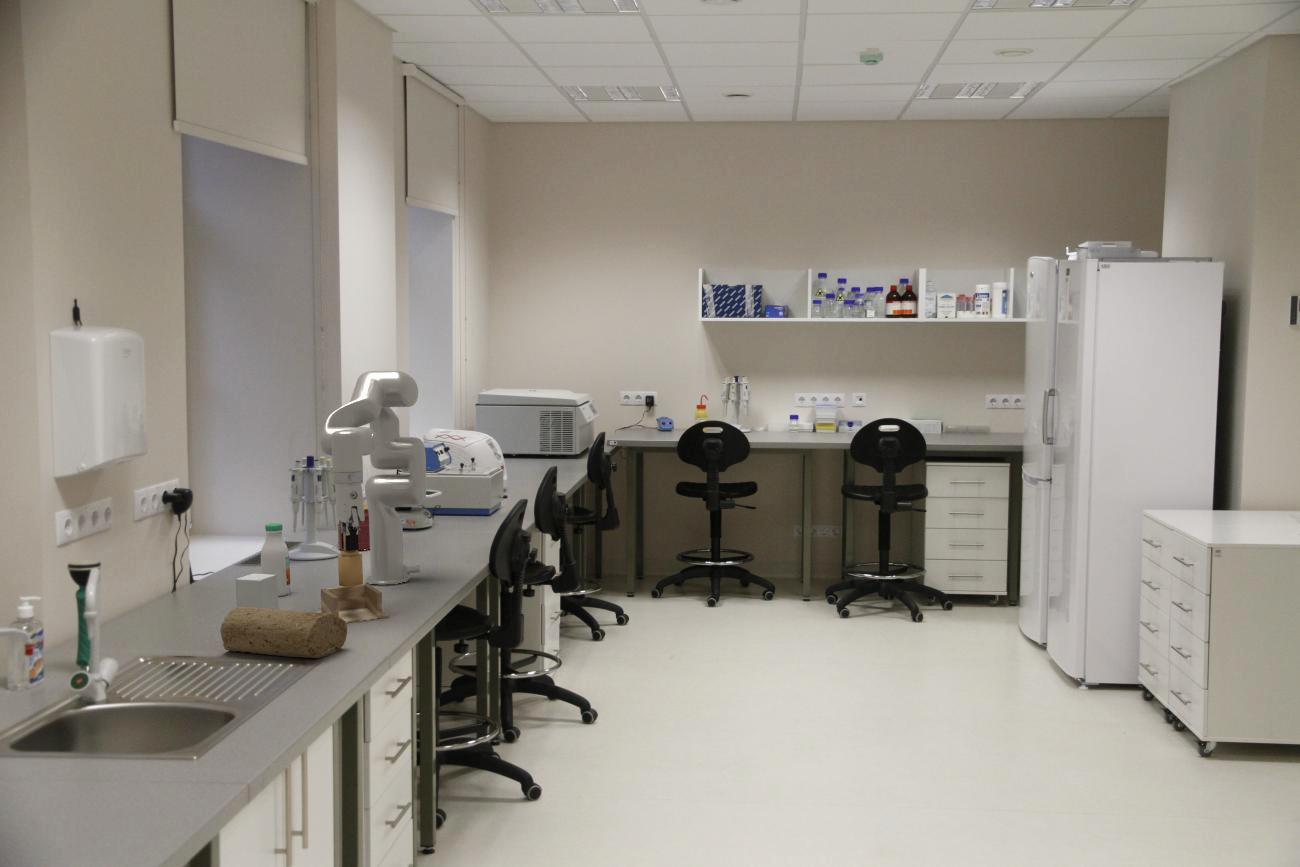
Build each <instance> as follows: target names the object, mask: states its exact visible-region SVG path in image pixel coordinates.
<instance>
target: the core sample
mask: <svg viewBox="0 0 1300 867" xmlns="http://www.w3.org/2000/svg"><path fill="white" fill-rule="evenodd" d="M318 612H319V611H301V610H290V609H279V608H278V609H267V608H254V607H242V606H241V607H237V606H236V607H234V608H233V609H231V610H230V611H229V612H227V614H226V615H225V616H224V620H222V622H221V625H220V635H221V640H222V642H223V643H222V646H223V648H224V650H226V651H228V650H231V651H230V652H236V651H241V652H240V653H245V652H251V653H250V654H256V653H257V655H265V654H266V655H269V656H279V657H291V658H303V659H304V658H305V659H320V658H324V657H327V656H329V655H333V654H335V653H337V652H338V651H340V649H342V648H343V646H344V644H346V640H347V638H348V637H347V635H348V623H346V622H345V620H343V619H342V618H341V617H338V616H337V615H335V614H331V613H318Z"/></svg>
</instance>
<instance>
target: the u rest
mask: <svg viewBox="0 0 1300 867" xmlns="http://www.w3.org/2000/svg"><path fill="white" fill-rule="evenodd" d="M320 600H321V602H320V604H321V609H320V610H319V611H317V612H318V613H331V614H335V615H337V616H338V617H341V618H342V619H343V620H345V622H346V624H349V623H348V622H352V623H356V622H355V621H359V622H363V621H362V620H367V621H370V620H369V619H375V618H382V619H385V618H384V617H388V618H389V615H388V614H387V613H386V612H384V611H383V592H382V591H381V590H379V589H377V588H375V587H374V586H373V585H371V584H367V583H363V584H362V585H358V586H348V587H346V586H336V587H328V588H321V589H320ZM375 620H376V619H375Z"/></svg>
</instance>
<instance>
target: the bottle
mask: <svg viewBox="0 0 1300 867" xmlns="http://www.w3.org/2000/svg"><path fill="white" fill-rule="evenodd" d="M350 526H352V525H349V529H350ZM342 531H343V537H344V551H343V550H341V551H340V554H339V555H338V556H337V562H338V563H337V564H338V566H337V568H338V585H339V587H344V586H346V587H348V586H358V585H362V584H364V574H363V554H362V553H360V551H358V550H353V551H346V544H345V535H347V534H346V526H343V527H342Z"/></svg>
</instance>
